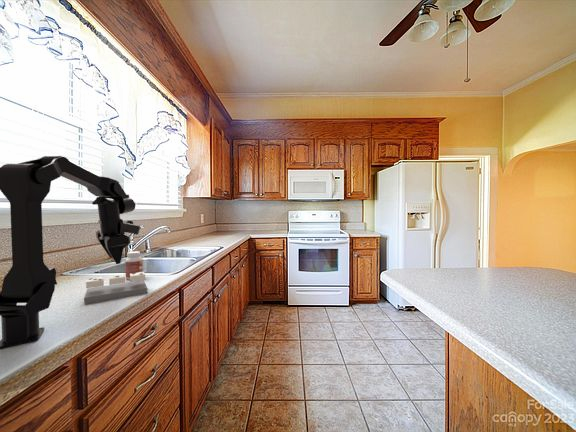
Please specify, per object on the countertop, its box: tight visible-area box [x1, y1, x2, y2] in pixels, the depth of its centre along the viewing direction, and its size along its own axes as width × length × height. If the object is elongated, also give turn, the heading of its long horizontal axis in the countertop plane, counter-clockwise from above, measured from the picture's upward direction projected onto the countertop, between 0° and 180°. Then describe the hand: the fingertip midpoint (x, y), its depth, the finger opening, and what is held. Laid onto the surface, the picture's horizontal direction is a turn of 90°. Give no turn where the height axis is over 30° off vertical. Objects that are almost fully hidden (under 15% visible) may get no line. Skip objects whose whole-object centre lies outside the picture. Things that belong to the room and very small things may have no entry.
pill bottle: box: [124, 250, 143, 280], centre depth 105 cm, size 6×6×11 cm
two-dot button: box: [129, 271, 146, 282], centre depth 89 cm, size 4×4×2 cm
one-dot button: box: [108, 273, 126, 285], centre depth 85 cm, size 4×4×2 cm
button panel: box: [83, 280, 148, 305], centre depth 85 cm, size 11×17×2 cm, turn 125°
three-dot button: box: [85, 276, 105, 289], centre depth 82 cm, size 4×4×2 cm
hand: (114, 260), depth 86 cm, fingers open, 9 cm apart
